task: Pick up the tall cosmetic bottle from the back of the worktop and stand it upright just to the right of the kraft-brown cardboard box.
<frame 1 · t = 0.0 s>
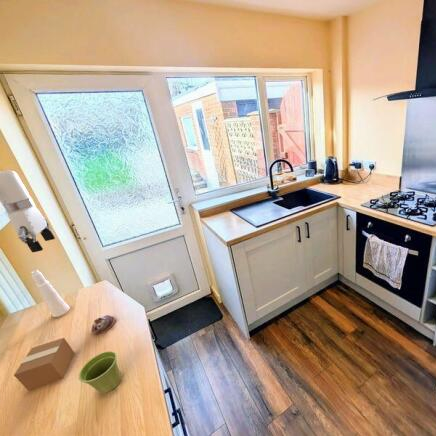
hand: (44, 245, 96), 32 cm above the countertop, tool pointing down, fingers open, 9 cm apart
cosmetic bottle: (61, 312, 108), on the countertop
box: (53, 370, 82), on the countertop
pastry: (104, 326, 98), on the countertop
plant pot: (110, 384, 76), on the countertop
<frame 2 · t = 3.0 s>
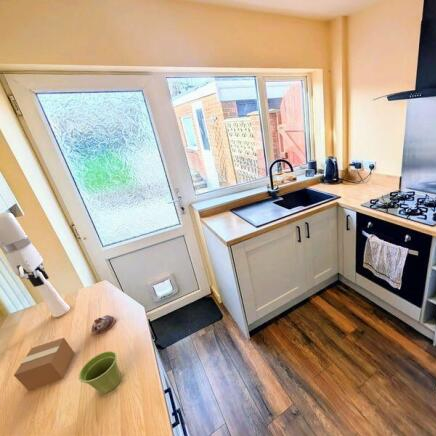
hand: (41, 282, 101), 17 cm above the countertop, tool pointing down, fingers closed on cosmetic bottle, 3 cm apart
cosmetic bottle: (61, 312, 108), on the countertop, touching gripper
everything else where it was.
when the fingers open (17 cm above the countertop, at t = 11.4 s): cosmetic bottle stays where it is, on the countertop.
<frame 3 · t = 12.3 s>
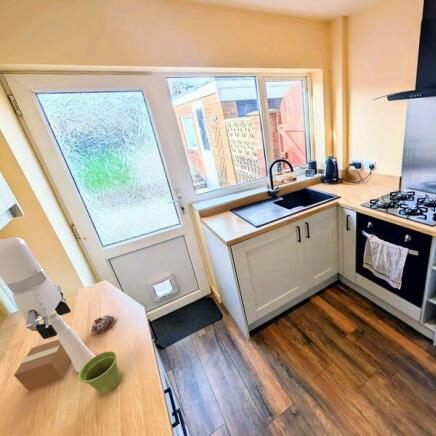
hand: (58, 324, 76), 18 cm above the countertop, tool pointing down, fingers open, 9 cm apart
cosmetic bottle: (86, 363, 83), on the countertop
everything else where it was.
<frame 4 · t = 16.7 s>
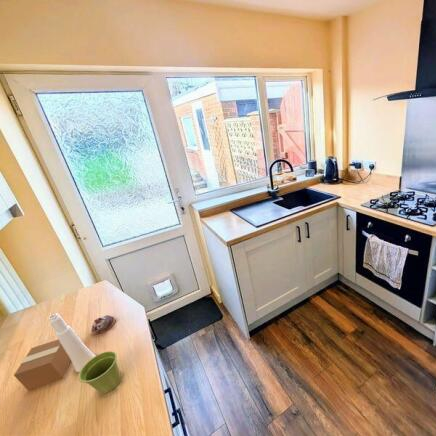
nothing on the countertop moved.
at the end: cosmetic bottle inside the target area on the countertop beside the box (0.6 cm from its centre), on the countertop; cosmetic bottle tilted 0°; the gripper is holding nothing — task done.
